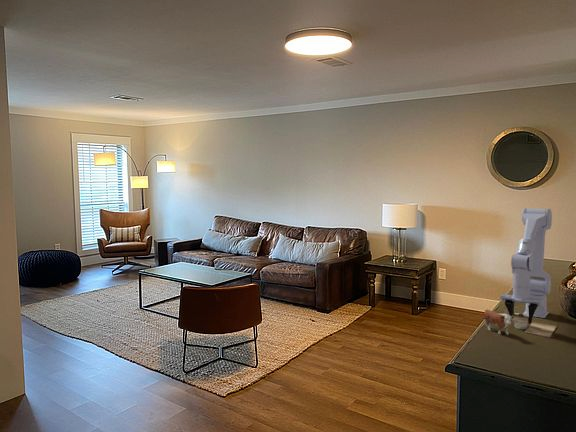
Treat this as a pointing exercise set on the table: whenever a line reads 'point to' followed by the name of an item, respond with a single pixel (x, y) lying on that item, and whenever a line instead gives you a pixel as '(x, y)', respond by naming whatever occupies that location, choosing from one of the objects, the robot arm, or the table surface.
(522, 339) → the table surface
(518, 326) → the white round lump
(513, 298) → the robot arm
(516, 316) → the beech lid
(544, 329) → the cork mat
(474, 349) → the table surface
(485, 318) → the bull figurine
